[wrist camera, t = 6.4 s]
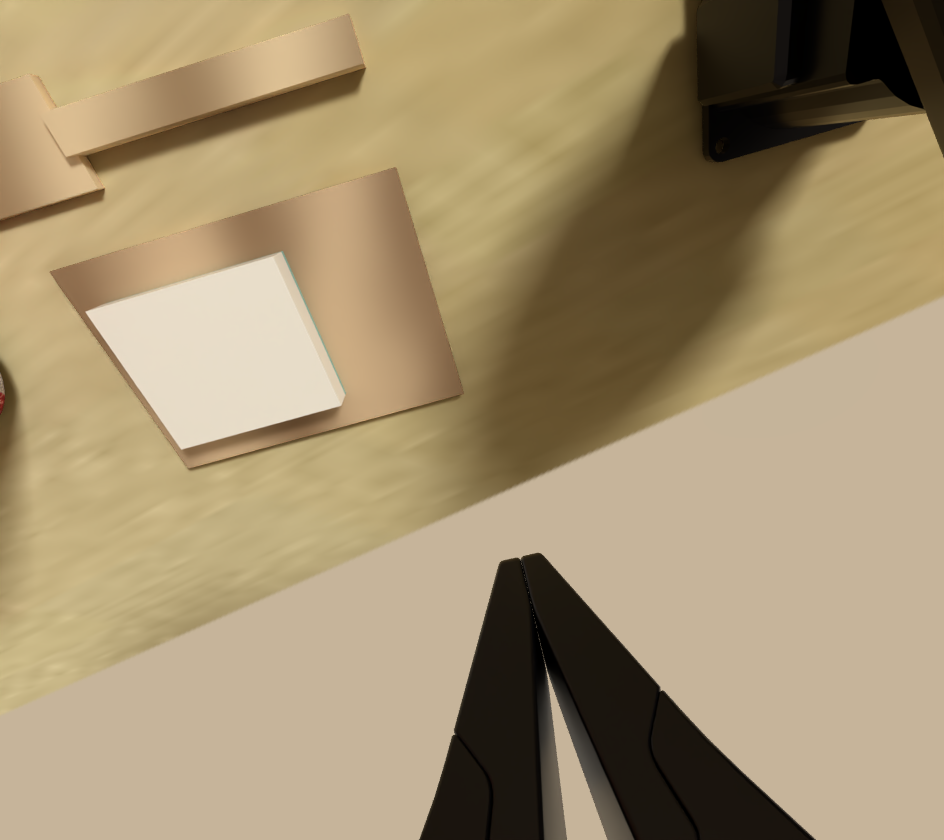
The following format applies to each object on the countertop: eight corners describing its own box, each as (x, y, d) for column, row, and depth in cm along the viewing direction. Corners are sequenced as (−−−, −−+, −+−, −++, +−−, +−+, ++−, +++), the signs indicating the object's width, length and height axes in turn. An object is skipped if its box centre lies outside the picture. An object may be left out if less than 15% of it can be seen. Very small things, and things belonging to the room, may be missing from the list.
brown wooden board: (396, 167, 16) (395, 167, 16) (462, 390, 20) (463, 393, 20) (57, 269, 17) (49, 271, 16) (192, 463, 21) (188, 468, 21)
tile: (272, 256, 16) (85, 311, 16) (341, 405, 18) (181, 449, 19) (282, 250, 17) (106, 303, 17) (346, 392, 20) (194, 434, 20)
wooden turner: (339, -21, 14) (334, -31, 13) (377, 104, 15) (374, 101, 15) (-104, 123, 14) (-131, 121, 14) (-25, 228, 16) (-45, 231, 15)
